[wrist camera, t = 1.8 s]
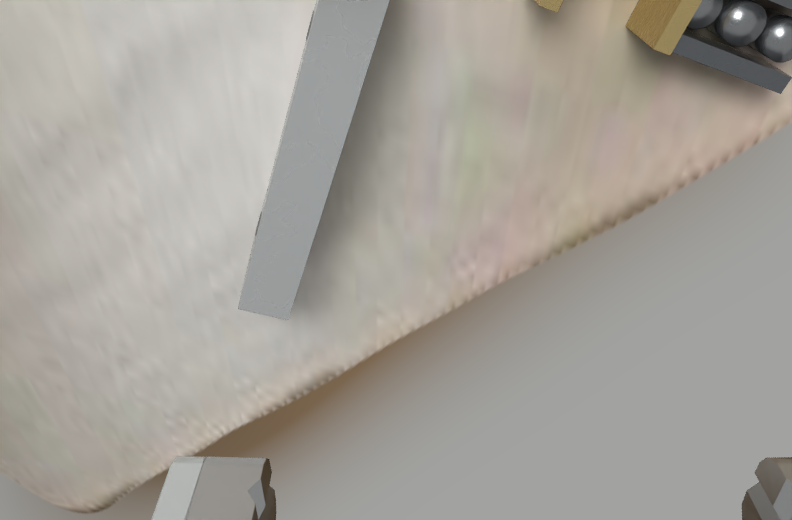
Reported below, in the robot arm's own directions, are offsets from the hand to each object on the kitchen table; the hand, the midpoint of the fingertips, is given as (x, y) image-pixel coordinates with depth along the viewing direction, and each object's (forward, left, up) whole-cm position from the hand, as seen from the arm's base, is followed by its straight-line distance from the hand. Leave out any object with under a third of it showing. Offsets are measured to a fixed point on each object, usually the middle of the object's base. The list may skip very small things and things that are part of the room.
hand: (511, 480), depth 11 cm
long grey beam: (-3, -5, -24) cm, 25 cm away
